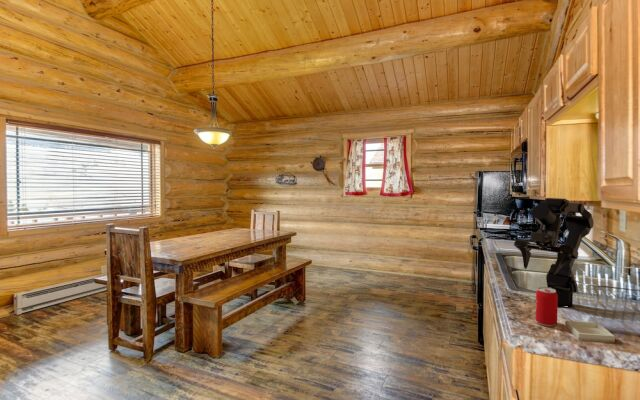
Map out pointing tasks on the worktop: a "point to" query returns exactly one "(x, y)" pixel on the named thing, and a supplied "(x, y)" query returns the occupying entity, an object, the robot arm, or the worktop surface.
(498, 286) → the worktop surface
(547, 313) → the beverage can
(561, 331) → the worktop surface
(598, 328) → the tray
